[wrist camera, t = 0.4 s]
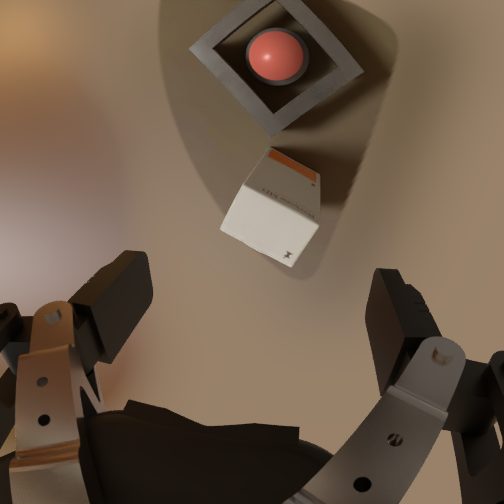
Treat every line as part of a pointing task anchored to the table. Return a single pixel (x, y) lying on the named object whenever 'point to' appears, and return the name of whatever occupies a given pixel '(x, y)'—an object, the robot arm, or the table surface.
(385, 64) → the table surface
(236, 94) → the grey square frame
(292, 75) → the button
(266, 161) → the skincare box
